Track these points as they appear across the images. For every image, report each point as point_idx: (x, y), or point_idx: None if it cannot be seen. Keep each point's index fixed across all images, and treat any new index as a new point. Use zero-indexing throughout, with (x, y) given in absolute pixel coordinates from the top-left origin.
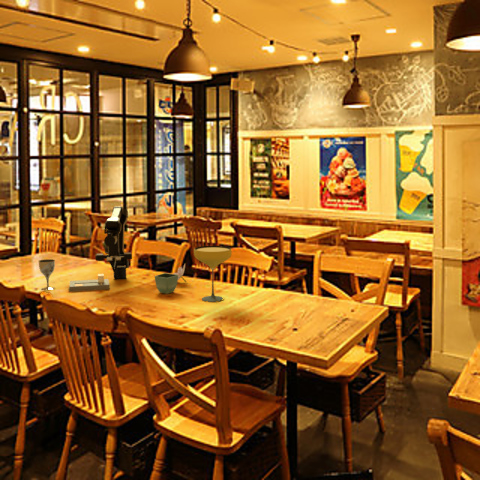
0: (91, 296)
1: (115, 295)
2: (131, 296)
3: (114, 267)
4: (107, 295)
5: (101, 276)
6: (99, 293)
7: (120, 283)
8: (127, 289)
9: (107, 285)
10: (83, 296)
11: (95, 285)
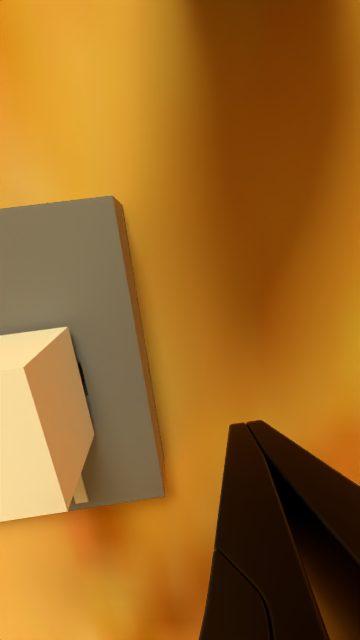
0: (61, 623)
1: None
2: None
3: (299, 534)
4: (168, 604)
5: (33, 504)
6: (101, 562)
7: (261, 222)
8: None
9: (146, 492)
10: (2, 623)
11: None
